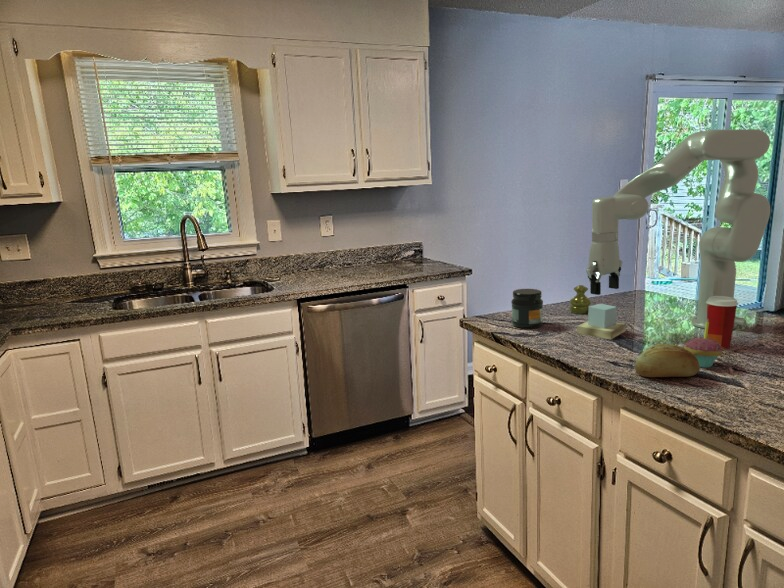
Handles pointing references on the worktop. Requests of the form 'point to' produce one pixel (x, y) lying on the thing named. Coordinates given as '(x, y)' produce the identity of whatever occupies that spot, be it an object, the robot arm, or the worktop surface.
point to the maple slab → (601, 330)
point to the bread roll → (666, 362)
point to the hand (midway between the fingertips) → (604, 291)
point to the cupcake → (704, 349)
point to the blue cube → (602, 315)
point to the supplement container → (527, 308)
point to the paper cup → (721, 319)
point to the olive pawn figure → (580, 301)
